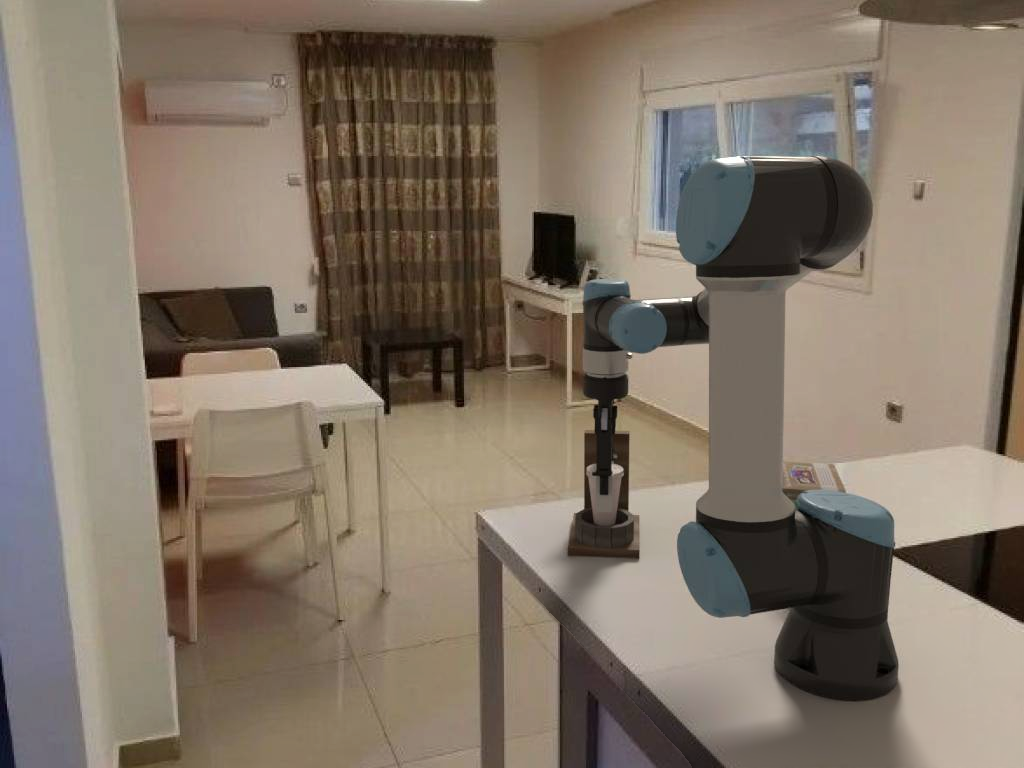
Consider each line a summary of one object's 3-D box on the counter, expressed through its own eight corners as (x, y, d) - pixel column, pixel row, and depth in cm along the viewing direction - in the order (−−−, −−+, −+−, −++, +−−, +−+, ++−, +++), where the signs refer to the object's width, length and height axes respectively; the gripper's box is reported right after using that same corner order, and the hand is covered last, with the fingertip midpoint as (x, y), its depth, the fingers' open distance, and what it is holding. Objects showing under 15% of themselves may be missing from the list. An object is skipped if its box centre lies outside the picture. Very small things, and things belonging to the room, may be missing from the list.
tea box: (841, 580, 145) (848, 491, 142) (775, 576, 147) (780, 488, 144) (829, 543, 160) (835, 461, 156) (769, 539, 162) (773, 458, 158)
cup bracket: (639, 558, 155) (641, 458, 151) (567, 555, 156) (567, 456, 152) (639, 522, 170) (640, 431, 166) (574, 520, 172) (573, 429, 168)
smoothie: (580, 525, 158) (580, 446, 155) (594, 512, 164) (595, 436, 161) (615, 531, 156) (615, 451, 152) (628, 518, 161) (629, 441, 158)
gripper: (627, 386, 144) (626, 525, 149) (629, 361, 162) (627, 485, 168) (579, 385, 145) (579, 524, 150) (586, 360, 163) (585, 484, 169)
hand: (604, 503), depth 159 cm, fingers closed on smoothie, 6 cm apart
